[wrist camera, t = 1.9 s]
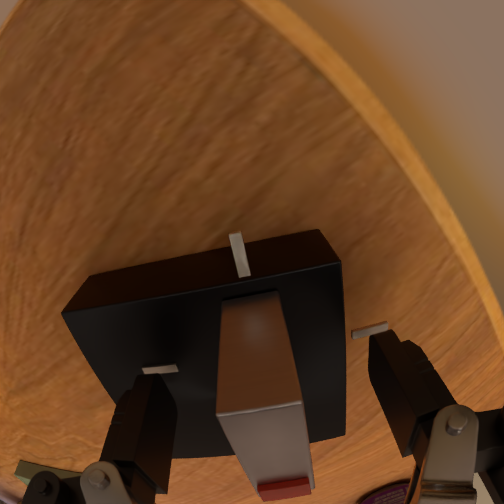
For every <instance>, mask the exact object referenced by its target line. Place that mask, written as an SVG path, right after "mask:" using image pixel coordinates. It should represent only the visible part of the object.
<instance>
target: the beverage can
mask: <svg viewBox="0 0 504 504" xmlns="http://www.w3.org/2000/svg"><path fill="white" fill-rule="evenodd" d="M408 487H409V484H405V483H400V484H395V485H391V486H388V487H385V488H383V489H381V490H378V491H376V492H375V493H373V494H371V495H369V496H368V497H367V498H366V499H365V500H364V501H363V502H362V503H361V504H404V500H405V497H406V494H407V491H408Z"/></svg>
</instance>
